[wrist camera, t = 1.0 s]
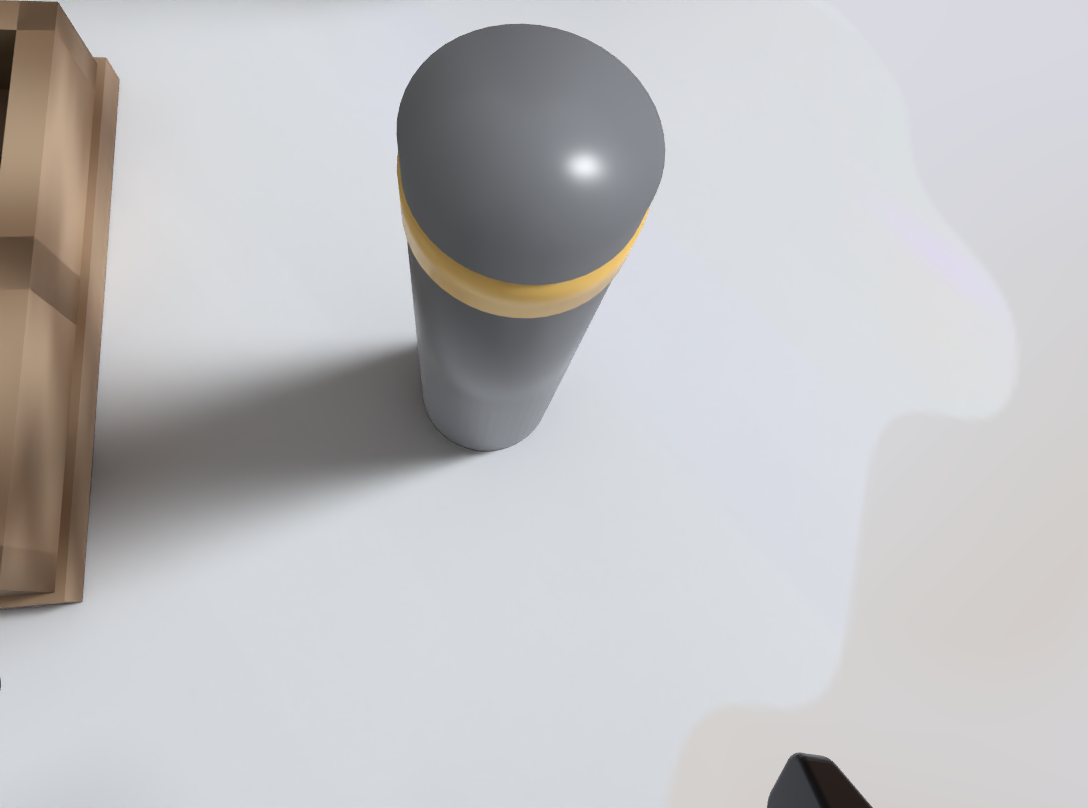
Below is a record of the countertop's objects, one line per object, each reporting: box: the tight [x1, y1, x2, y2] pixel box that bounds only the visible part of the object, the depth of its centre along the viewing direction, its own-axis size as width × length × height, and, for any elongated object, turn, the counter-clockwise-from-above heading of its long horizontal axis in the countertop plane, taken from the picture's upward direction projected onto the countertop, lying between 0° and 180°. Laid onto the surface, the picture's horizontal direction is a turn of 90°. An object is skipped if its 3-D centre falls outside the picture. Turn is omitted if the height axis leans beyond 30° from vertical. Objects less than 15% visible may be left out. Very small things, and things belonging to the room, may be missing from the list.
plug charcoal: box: [397, 24, 665, 451], centre depth 17 cm, size 4×4×13 cm
